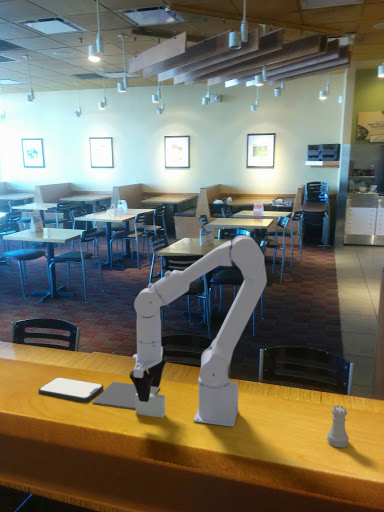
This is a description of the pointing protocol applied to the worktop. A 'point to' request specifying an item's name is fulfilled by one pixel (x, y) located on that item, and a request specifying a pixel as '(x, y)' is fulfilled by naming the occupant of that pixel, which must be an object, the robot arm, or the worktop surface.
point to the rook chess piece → (338, 428)
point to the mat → (120, 395)
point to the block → (151, 406)
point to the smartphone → (71, 389)
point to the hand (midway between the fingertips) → (149, 393)
